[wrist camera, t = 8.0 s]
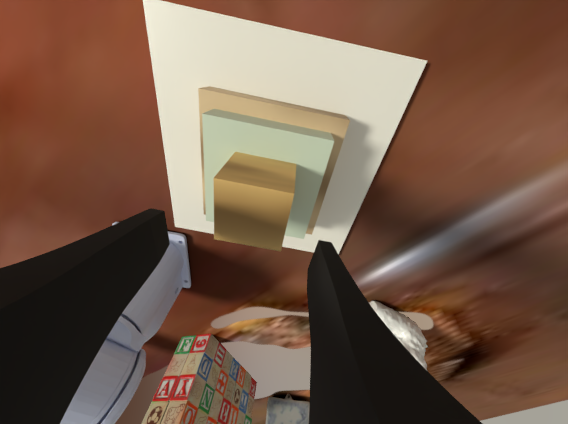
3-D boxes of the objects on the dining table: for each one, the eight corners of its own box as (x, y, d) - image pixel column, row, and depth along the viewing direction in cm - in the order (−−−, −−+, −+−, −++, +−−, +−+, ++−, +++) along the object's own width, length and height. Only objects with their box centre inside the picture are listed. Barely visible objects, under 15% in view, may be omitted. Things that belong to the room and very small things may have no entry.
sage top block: (303, 224, 19) (303, 239, 17) (214, 207, 19) (206, 220, 17) (330, 132, 14) (334, 140, 13) (214, 108, 14) (202, 113, 12)
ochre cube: (285, 213, 16) (280, 251, 13) (232, 203, 16) (214, 238, 12) (296, 163, 14) (294, 193, 10) (235, 151, 14) (213, 177, 10)
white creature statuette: (369, 296, 28) (406, 422, 18) (433, 306, 28) (505, 437, 18) (347, 332, 33) (366, 445, 23) (401, 340, 33) (443, 456, 23)
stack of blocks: (257, 381, 47) (245, 466, 37) (232, 382, 49) (214, 464, 39) (211, 332, 36) (175, 434, 26) (180, 335, 38) (135, 433, 28)
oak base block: (311, 221, 21) (311, 234, 19) (211, 202, 21) (203, 214, 19) (345, 115, 16) (350, 120, 14) (209, 86, 15) (198, 88, 13)
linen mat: (336, 254, 24) (337, 256, 24) (176, 224, 23) (175, 226, 23) (424, 61, 14) (427, 61, 13) (146, -2, 13) (142, -4, 13)
